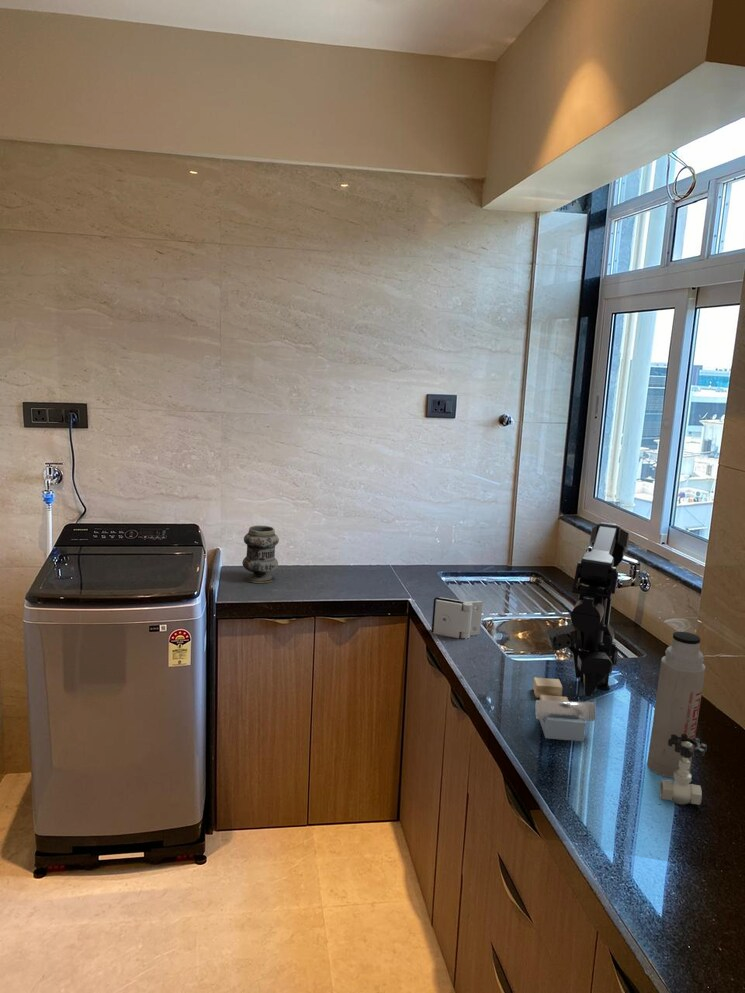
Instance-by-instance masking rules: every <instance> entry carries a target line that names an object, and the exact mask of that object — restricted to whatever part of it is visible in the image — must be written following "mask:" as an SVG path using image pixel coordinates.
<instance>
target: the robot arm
mask: <svg viewBox="0 0 745 993" xmlns="http://www.w3.org/2000/svg"><path fill="white" fill-rule="evenodd" d="M629 534H630V533H629V532H628V531H626V530H624V529H622V527H621V525H619V524H617V523H610V522H602V521H601V522H598V523H597V524H596V526H594V527H592V528H591V534H590V538H589V545H590V548H591V551H588V552H584V554H583V555H582V557H581V560H580V561H577V564H576V570H575V573H574V574H575V576H574V579H573V586H572V590H571V593H573V594H578V599H577V601H576V603H575V605H574V607H573V609H572V611H571V614H570V621H571V623H570V624H566V625H565V624H564V625H563V624H562V625H560V626H556V627H551V628H549V629H547V630H546V634H547V639H548V642H549V646H550V647H551V650H552V651H553V652H554V651H555V652H556V651H560V650H563V649H566V648H568V649H569V651H571V654H572V661H573V662H572V663H573V669H574V675H575V678H577V679H578V680H579V682H580V683H581V685H582V688H583V693H584V696H585V697H591V696H592V695H593V693H594V692H595V690H596V689H599V690H600V689H603V690H610V689H611V687H610V685H609V679H610V674H611V673H612V672H613V667H614V665H617V664H618V656H619V648H618V647H617V642H615V631H614V630H613V628H612V626H611V625H610V618H611V611H612V610H611V609H612V600H613V595H615V594H616V589H617V585H618V584H617V583H618V580H619V573H618V571H617V570H618V568H617V567H618V566H619V565H620V563H621V562H623V559H624V556H625V553H628V549H629V542H630V541H629V540H630V536H629Z"/></svg>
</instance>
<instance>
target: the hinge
mask: <svg viewBox="0 0 745 993" xmlns="http://www.w3.org/2000/svg"><path fill="white" fill-rule="evenodd" d="M483 604H484V603H483V601H482V600H476V601H474V600H472V601H465V600H460V599H454V598H448V597H447V598H446V597H440V596H439V597H434V598H433V607H432V608H433V609H432V617H431V618H432V622H431V633H433V634H435V635H439V636H445V637H451V638H456V639H460V638H462V639H463V638H465V639H464V640H467V638H469V639H470V637H471V636H479V635H478V634H480V633H481V625H482V624H481V623H482V611H483ZM473 628H474V629H473ZM480 635H481V634H480Z"/></svg>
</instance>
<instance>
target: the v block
mask: <svg viewBox="0 0 745 993" xmlns="http://www.w3.org/2000/svg"><path fill="white" fill-rule="evenodd" d="M538 720H539V723H540V727H541V729H542V732H543V734H544V738H545V739H549V740H550V739H553V740H564V741H577V742H585V740H584V739H585V733H586V724H587V723H586V722H587V721H585V720H577V719H564V718H552V717H546V719H545V720H544V719H538Z"/></svg>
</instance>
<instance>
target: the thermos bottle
mask: <svg viewBox="0 0 745 993" xmlns="http://www.w3.org/2000/svg"><path fill="white" fill-rule="evenodd" d="M672 638H673V639H672V644H671V645H670V646H668V647H667V648H666V650H665V655H664V656H662V657H661V660H660V666H659V674H658V675H659V676H658V682H657V689H656V695H655V696H656V697H655V704H654V711H653V718H652V726H651V732H650V733H651V734H650V738H649V739H650V741H649V747H648V756H647V762H646V764H647V766H648V768H649V769H650V770H651V771H653V772H654V773H655V774H657V775H660V776H661V777H666V778H668V779H674V771H675V770H678V769H679V768H680V767H678V766H679V760H680V759H681V758H682V756H681V755H680V753H678V752H675V751H674V749H675V745H674V744H672V747H671V746H669V745H668V739H671V735H672V734H674V735H677V737H681V734H686V735H687V736H688V738H690V739H693V738H696V736H697V735H696V734H697V729H698V728H697V727H698V721H699V713H700V708H701V700H702V694H703V689H704V688H703V687H704V680H705V674H706V666H705V664H704V663H703V662H704V655H703V654H704V653H702V652H701V651H700V643H701V637H700V636H699V635H696V633H695V634H694V633H691V632H688V631H687V632H686V631H675V632H673V633H672ZM683 742H684V741H682V742H681V745H682V743H683ZM691 744H692V743H691ZM692 745H693V746H692V748H695V745H694V744H692ZM688 760H689V761H690V768H689V769H688V771H689V773H690V774H691V769H692V761H693V757H691V758H688Z"/></svg>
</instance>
